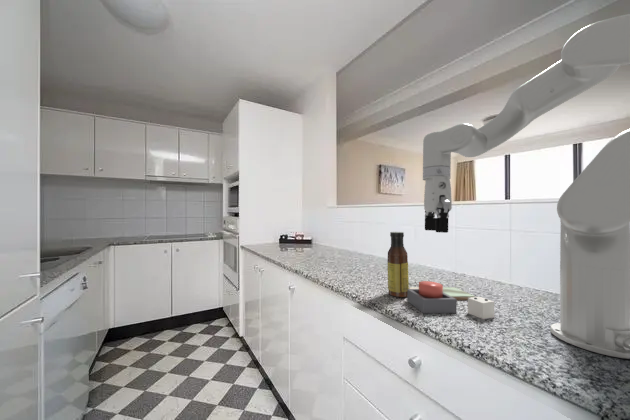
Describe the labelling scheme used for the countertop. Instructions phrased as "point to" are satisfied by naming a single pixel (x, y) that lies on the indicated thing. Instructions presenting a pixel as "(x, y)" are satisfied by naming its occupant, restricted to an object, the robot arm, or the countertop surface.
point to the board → (453, 293)
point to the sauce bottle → (397, 266)
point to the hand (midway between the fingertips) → (435, 231)
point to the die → (481, 307)
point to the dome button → (430, 289)
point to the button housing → (432, 302)
